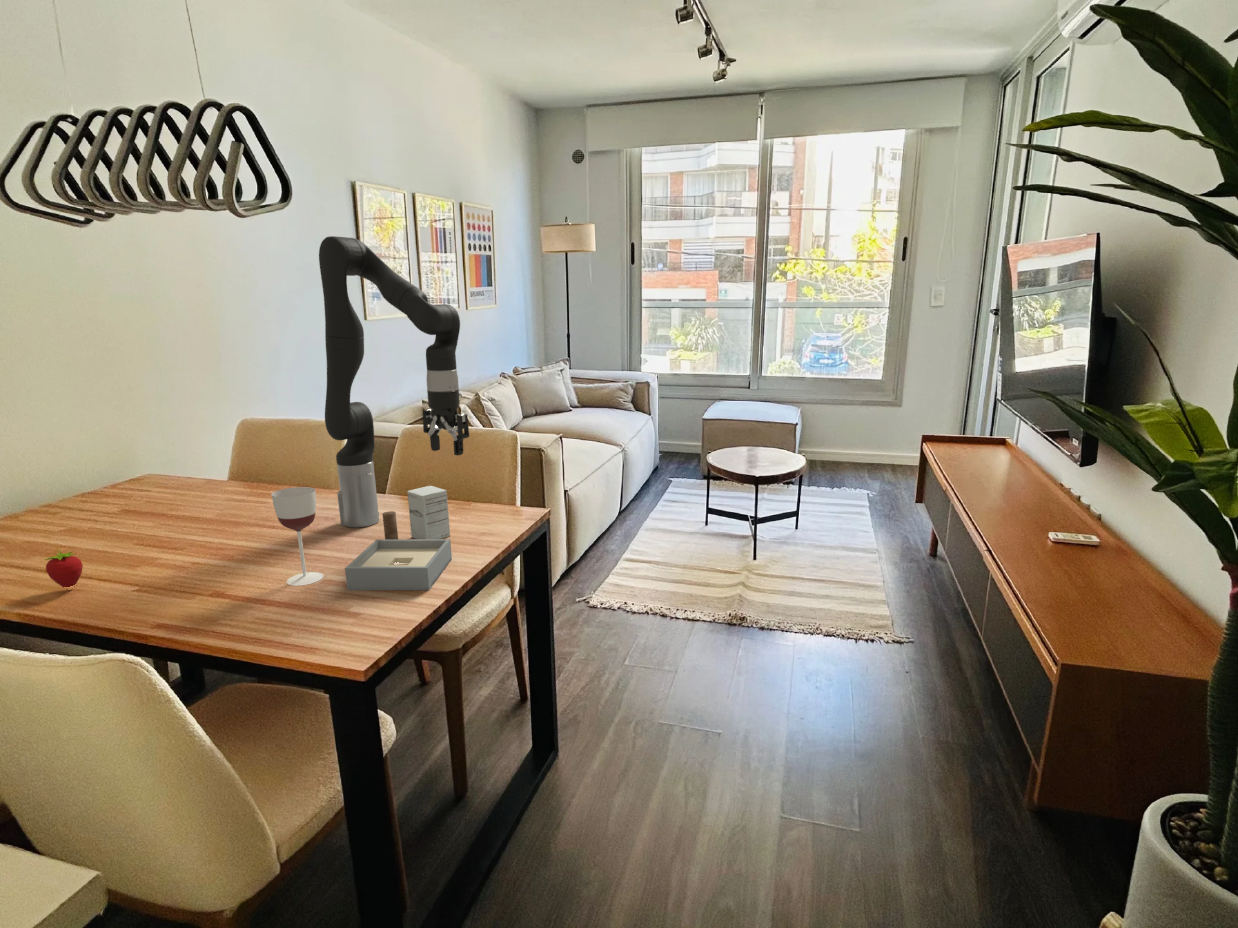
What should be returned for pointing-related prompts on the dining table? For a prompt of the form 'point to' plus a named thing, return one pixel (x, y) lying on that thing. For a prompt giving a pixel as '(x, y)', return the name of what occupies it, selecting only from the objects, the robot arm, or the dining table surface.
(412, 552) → the peg box
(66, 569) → the strawberry
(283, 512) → the wineglass
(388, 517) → the peg
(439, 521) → the supplement box
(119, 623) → the dining table surface
